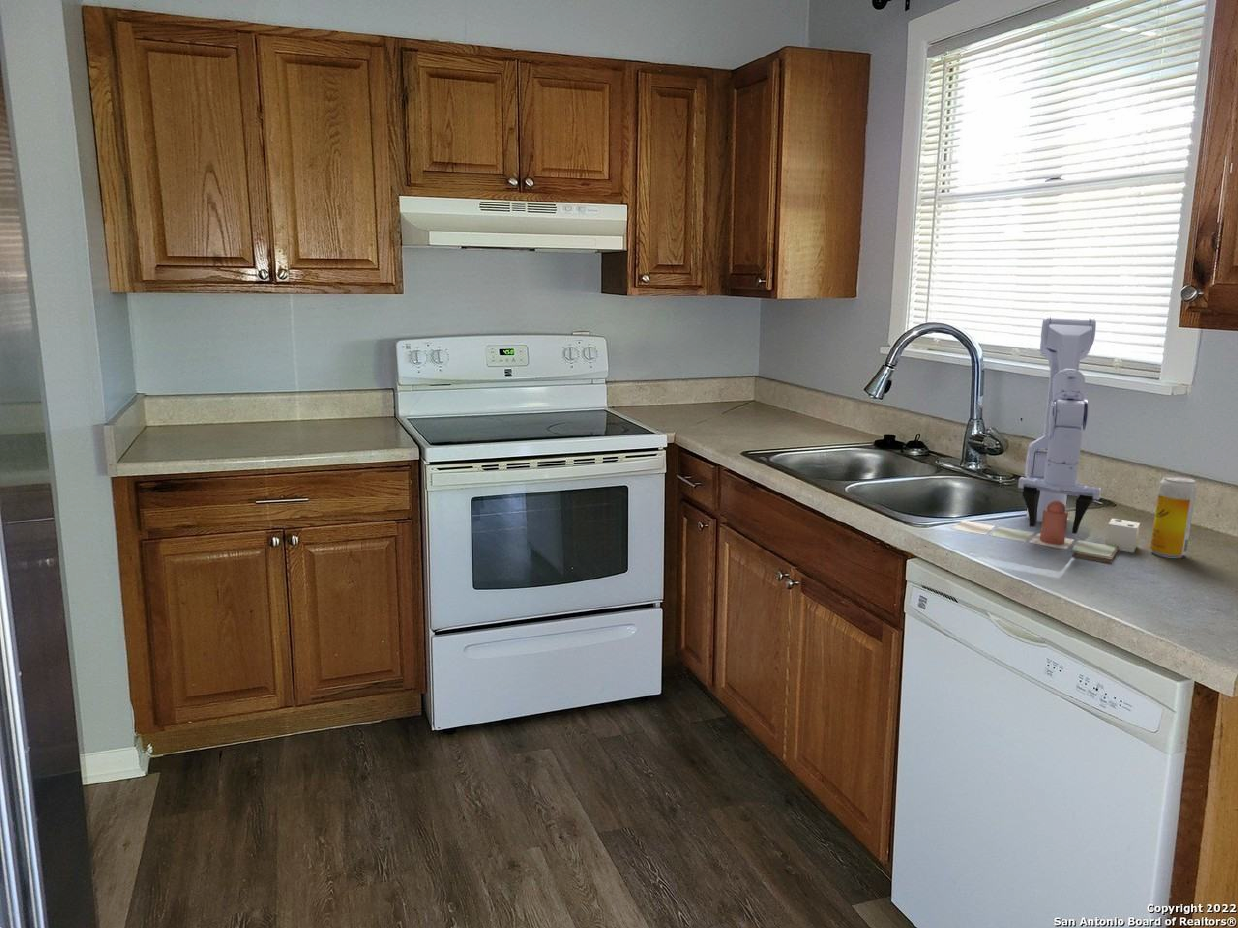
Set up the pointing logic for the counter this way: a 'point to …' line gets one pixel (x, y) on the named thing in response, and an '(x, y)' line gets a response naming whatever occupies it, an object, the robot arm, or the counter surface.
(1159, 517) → the beer can
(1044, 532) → the pawn
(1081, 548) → the board
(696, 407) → the counter surface
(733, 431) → the counter surface
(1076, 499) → the robot arm
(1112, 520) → the die
